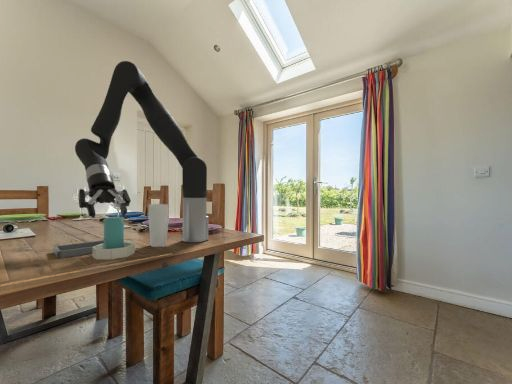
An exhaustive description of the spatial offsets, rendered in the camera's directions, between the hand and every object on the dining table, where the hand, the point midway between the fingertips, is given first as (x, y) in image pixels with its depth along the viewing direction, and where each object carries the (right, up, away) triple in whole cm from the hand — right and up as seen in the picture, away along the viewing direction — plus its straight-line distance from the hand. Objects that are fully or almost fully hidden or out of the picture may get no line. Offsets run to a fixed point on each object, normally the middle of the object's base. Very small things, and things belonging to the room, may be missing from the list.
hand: (109, 215), depth 77 cm
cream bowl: (+4, -12, -4) cm, 13 cm away
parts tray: (-7, -12, 0) cm, 14 cm away
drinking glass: (+12, -12, +9) cm, 19 cm away
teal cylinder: (+3, -11, -4) cm, 13 cm away
